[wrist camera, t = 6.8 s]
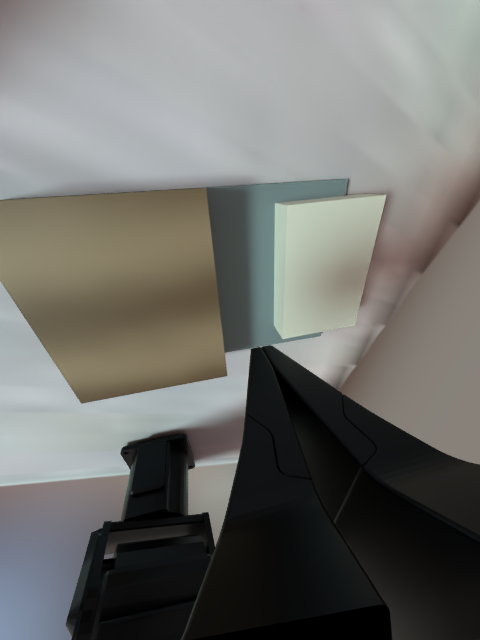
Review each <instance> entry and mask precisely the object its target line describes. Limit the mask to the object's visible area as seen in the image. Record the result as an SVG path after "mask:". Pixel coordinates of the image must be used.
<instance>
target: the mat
mask: <svg viewBox="0 0 480 640" xmlns="http://www.w3.org/2000/svg"><path fill="white" fill-rule="evenodd" d="M347 183H348V179H340V180H323V181H306V182H290V183H273V184H257V185H240V186H223V187H207V188H206V191H207V200H208V209H209V218H210V227H211V236H212V244H213V253H214V262H215V271H216V280H217V289H218V298H219V307H220V316H221V325H222V334H223V343H224V352H230V351H236V350H242V349H248V348H254V347H259V346H265V345H271V344H277V343H283V342H288V341H294V340H300V339H306V338H311V337H317V336H321V332H318V333H313V334H307V335H302V336H297V337H292V338H287V339H282V337H281V336H280V334H279V333H278V331H277V330H276V328H275V326H274V245H275V203H279V202H289V201H299V200H308V199H318V198H328V197H337V196H345V195H346V189H347Z"/></svg>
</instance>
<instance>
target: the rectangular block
mask: <svg viewBox="0 0 480 640" xmlns="http://www.w3.org/2000/svg"><path fill="white" fill-rule="evenodd" d="M385 199H386V195H379V194H356V195H347V196H337V197H328V198H318V199H308V200H299V201H289V202H279V203H275V245H274V326H275V328H276V330H277V331H278V333H279V334H280V336H281V337H282V339H287V338H292V337H297V336H302V335H307V334H313V333H318V332H323V331H328V330H333V329H339V328H344V327H349V326H354V325H355V323H356V319H357V314H358V310H359V306H360V302H361V298H362V294H363V290H364V286H365V282H366V277H367V273H368V269H369V265H370V261H371V257H372V253H373V249H374V245H375V241H376V236H377V232H378V228H379V224H380V220H381V216H382V212H383V208H384V204H385Z"/></svg>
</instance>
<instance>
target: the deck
mask: <svg viewBox="0 0 480 640" xmlns="http://www.w3.org/2000/svg"><path fill="white" fill-rule="evenodd" d="M0 281H1V283H2V284H3V286H4V287H5V289H6V290H7V292H8V293H9V295H10V296H11V298H12V299H13V301H14V302H15V304H16V305H17V307H18V308H19V310H20V311H21V313H22V314H23V316H24V317H25V319H26V320H27V322H28V323H29V325H30V326H31V328H32V329H33V331H34V332H35V334H36V335H37V337H38V339H39V340H40V342H41V343H42V345H43V346H44V348H45V349H46V351H47V352H48V354H49V355H50V357H51V358H52V360H53V361H54V363H55V364H56V366H57V367H58V369H59V370H60V372H61V373H62V375H63V376H64V378H65V379H66V381H67V382H68V384H69V385H70V387H71V388H72V390H73V391H74V393H75V394H76V396H77V398H78V399H79V401H80V402H81V403H87V402H92V401H97V400H103V399H108V398H113V397H118V396H124V395H129V394H134V393H140V392H145V391H150V390H155V389H161V388H166V387H171V386H177V385H182V384H187V383H192V382H198V381H203V380H208V379H214V378H219V377H224V376H227V370H226V361H225V352H224V343H223V334H222V325H221V316H220V307H219V298H218V289H217V280H216V271H215V262H214V253H213V244H212V236H211V227H210V218H209V209H208V200H207V191H206V188H190V189H173V190H157V191H140V192H124V193H107V194H90V195H74V196H57V197H40V198H24V199H7V200H0Z"/></svg>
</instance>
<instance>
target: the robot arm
mask: <svg viewBox="0 0 480 640" xmlns="http://www.w3.org/2000/svg"><path fill="white" fill-rule="evenodd" d="M121 456H122V457H123V459H124V460H125V462H126V463H127V465H128V467H129V468H130V470H131V471H130V476H129V481H128V486H127V491H126V496H125V501H124V507H123V512H122V517H121V521H119V522H111V521H104V524H103V528H101V529H99V530H97V531H94V532H92V533H91V536H90V540H89V544H88V547H87V551H86V555H85V558H84V562H83V565H82V569H81V572H80V576H79V579H78V583H77V587H76V590H75V594H74V597H73V600H72V604H71V607H70V611H69V615H68V618H67V622H66V626H67V628H68V630H69V632H70V634H71V636H72V640H480V465H479V464H474V463H470V462H466V461H463V460H460V459H457V458H455V457H452V456H450V455H447V454H445V453H443V452H441V451H439V450H437V449H435V448H433V447H431V446H430V445H428V444H426V443H424V442H422V441H421V440H419V439H417V438H416V437H414V436H412V435H410V434H408V433H407V432H405V431H403V430H401V429H400V428H398V427H396V426H394V425H393V424H391V423H389V422H387V421H385V420H384V419H382V418H380V417H379V416H377V415H375V414H374V413H372V412H370V411H369V410H367V409H366V408H364V407H363V406H361V405H359V404H358V403H356V402H355V401H353V400H352V399H350V398H348V397H347V396H346V395H342V393H341V392H340V391H338V390H337V389H335V388H334V387H332V386H331V385H329V384H328V383H326V382H325V381H323V380H322V379H320V378H319V377H318V376H316V375H315V374H313V373H312V372H310V371H309V370H307V369H306V368H304V367H303V366H301V365H300V364H298V363H297V362H295V361H294V360H292V359H291V358H289V357H288V356H286V355H285V354H283V353H282V352H280V351H279V350H278V349H276V348H275V347H273V346H271V345H269V346H263V347H262V348H261V347H258V348H252V349H251V355H250V366H249V378H248V389H247V401H246V412H245V422H244V432H243V440H242V445H241V450H240V455H239V460H238V464H237V469H236V474H235V477H234V482H233V486H232V490H231V494H230V498H229V503H228V507H227V511H226V515H225V519H224V522H223V526H222V529H221V532H220V536H219V538H218V541H217V544H216V547H215V545H214V540H213V534H212V529H211V524H210V519H209V514H208V512H205V513H202V514H196V515H188V470H189V469H192V468H194V467H195V461H194V458H193V454H192V451H191V448H190V445H189V441H188V438H187V435H185V434H179V435H175V436H170V437H166V438H161V439H157V440H152V441H148V442H143V443H139V444H134V445H130V446H125V447H123V448H122V449H121ZM112 553H114V556H113V558H111V559H104V555H105V554H112ZM103 559H104V560H103Z"/></svg>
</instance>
